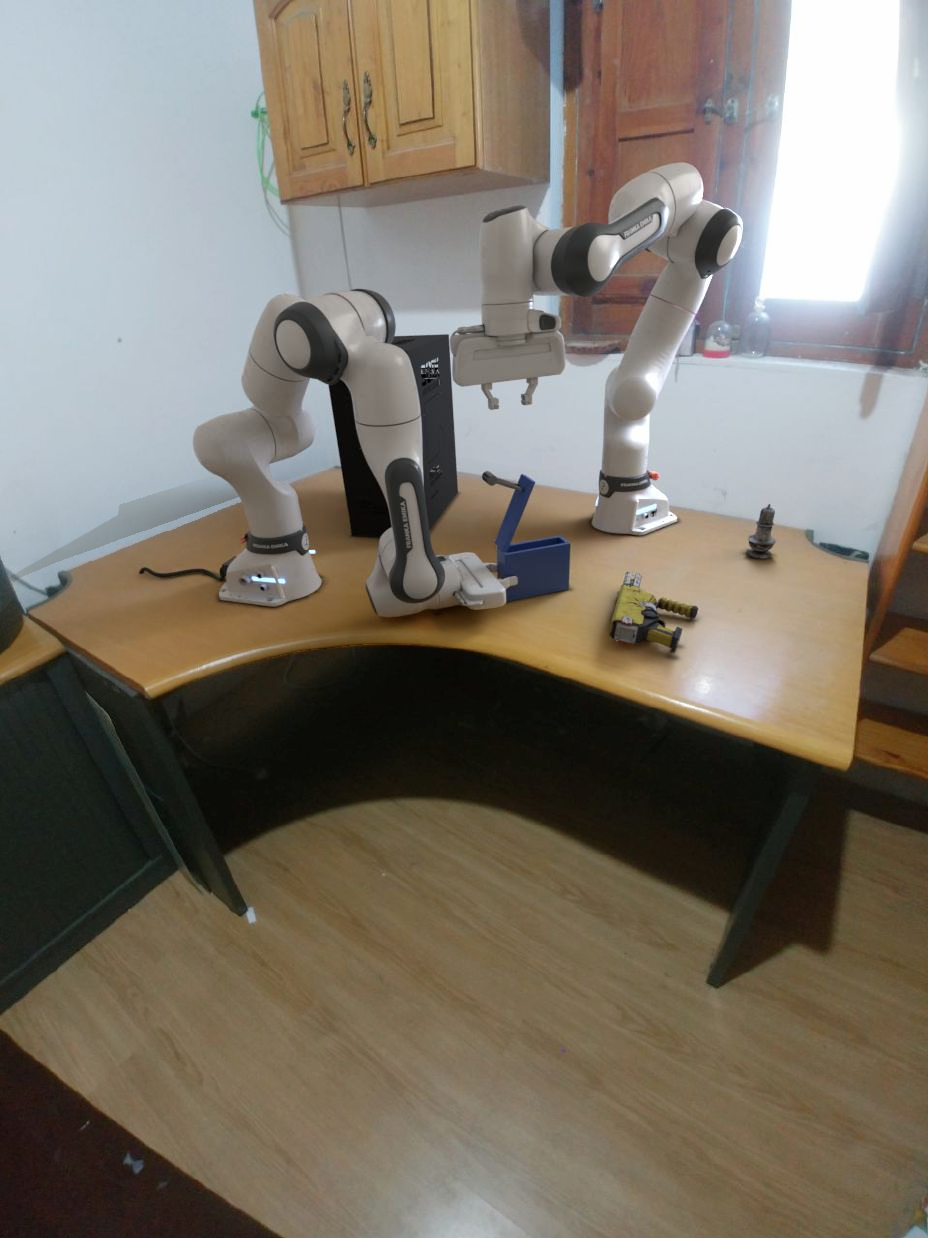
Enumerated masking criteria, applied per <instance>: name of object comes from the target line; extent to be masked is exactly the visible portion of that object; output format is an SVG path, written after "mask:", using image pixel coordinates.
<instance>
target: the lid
mask: <svg viewBox="0 0 928 1238" xmlns="http://www.w3.org/2000/svg"><path fill="white" fill-rule="evenodd" d="M481 479H482V480H483V482H485V483H486V484H487V485H488V486H491V487H493V486H495V485H499V486H503V487H505V488H509V489H512V490H514V491H513V494H512V496H511V499H510V501H509V504H508V506H507V508H506V509H507V510H506V512H505V515H504V516H503V519H502V522H501V524H500V527H499V529H498V532H497V535H496V537H495V540H494V541H493V542H494V545H495V546H496V548H497V547H498V548H499V549H500V550H501V551H502V552H506V553H507V551H508V549H509V546H510V544H512V541H513V539H514V537H515V534H516V531H517V530H518V526H519V524H520V522H521V519H522V517H523V514H524V512H525V509H526V507H527V504H528V501H529V499H530V497H531V495H532V492H533V489H534V487H535V485H536V481H535V480H534V479H532V478H531V477H529V476H528V475H526V474H523V473H521V474H520V476H519V479H518V481H517V483H516V482H512V481H510V480H506V479H503V478H500V477H497V476H496V475H495V474H493V473H492V472H491V471H489V470H486V471H484V472H483V473H482V475H481Z"/></svg>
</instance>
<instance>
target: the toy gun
mask: <svg viewBox="0 0 928 1238" xmlns="http://www.w3.org/2000/svg"><path fill="white" fill-rule="evenodd" d="M632 577H634V578H632ZM642 578H643V576H642V574H641V573H640V572H636V573H635V574H633V571H630V570H629V571H626V572H625V576H624V579H623V583H622V584H621V586H620V589H619V592H618V597H617V599H616V603H615V608H614V611H613V615H612V617H611V621H610V625H609V626H610V627H609V632H608V637H609V638H610V640H614V641H617V644H619V645H621V644H623V646H624V645H625V646H627V645H628V644H631V645H638V644H642V643H644V642H646V641H650V642H653V643H656V644H660V645H663V646H665V647H667V648H669V649H670V653H673V654H675V652H676V651H677V648H678V646H679V644H680V640H681V637H682V633H683V628H682V627H680V626H675V630H672V629H670V628H667V627H666V622H665V621H664V620H662V619H660V617H661V615H660V613H659V612H658V609H659V610H662V611H663V610H665V611H666V612H672V613H673V614H678V615H680V616H685V617H686V618H689V619H691V620H693V619H696V617H697V615H698V612H699V607H698V606H696V605H692V604H687V603H685V602H680V601H678V600H676V601H674V600H673V599H667V597H660V598H659V599H658V600H657V598H656V596H655V595H654V594H653V593H651V592H647V591H644V590H642V589H640V586H641V581H642Z"/></svg>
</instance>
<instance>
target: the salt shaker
mask: <svg viewBox="0 0 928 1238" xmlns="http://www.w3.org/2000/svg"><path fill="white" fill-rule="evenodd" d="M771 506H772V505H771V504H770V503H768V504H767V506H766V507H762V508H761V510H760V513H759V518H758V521H756V531H755V533H754V534H750V535H749V536H747V540H748V545H749V547H750V548H749V549H747V550H746V554H747V556H749V557H752V558H755V559H768V558H771V557H772V556H773V555H772V552H771V551H770V550H772V548H773V547H774V545H775V544H776V543H777V539H776V538H775V537H773V536H772V529H773V527H774V526H775V523H774V519H775V514H776V511H775V509H774V508H772V507H771Z"/></svg>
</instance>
